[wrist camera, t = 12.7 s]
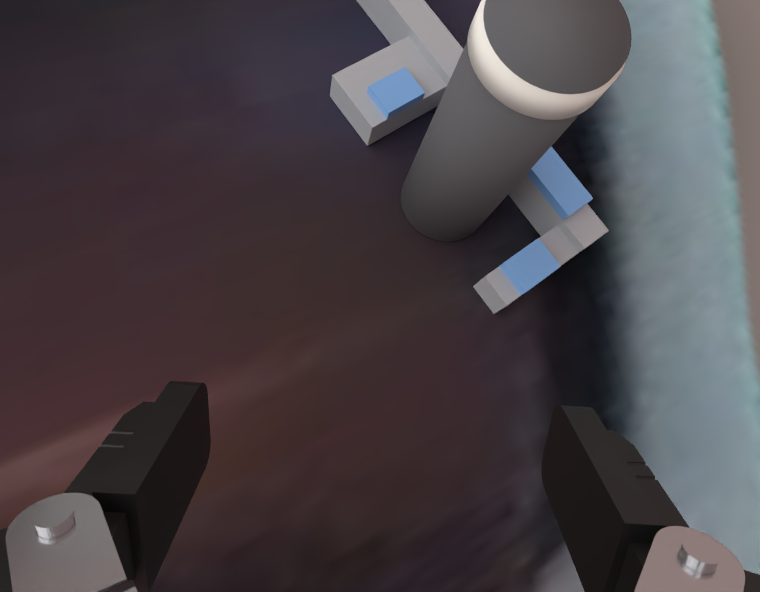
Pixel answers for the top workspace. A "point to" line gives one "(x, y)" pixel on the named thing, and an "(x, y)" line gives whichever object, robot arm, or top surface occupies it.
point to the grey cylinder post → (510, 105)
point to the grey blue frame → (424, 92)
